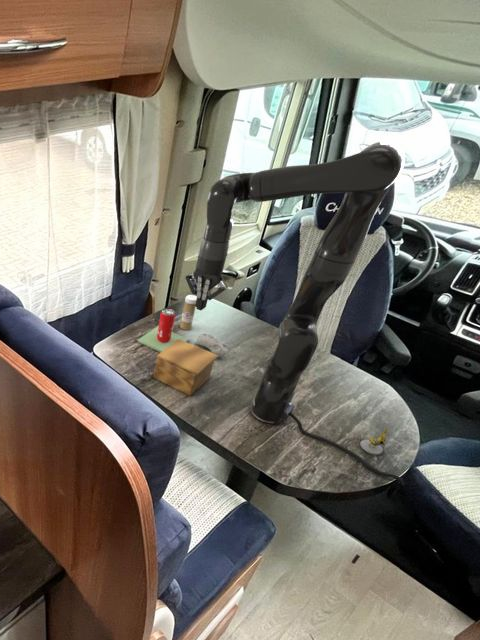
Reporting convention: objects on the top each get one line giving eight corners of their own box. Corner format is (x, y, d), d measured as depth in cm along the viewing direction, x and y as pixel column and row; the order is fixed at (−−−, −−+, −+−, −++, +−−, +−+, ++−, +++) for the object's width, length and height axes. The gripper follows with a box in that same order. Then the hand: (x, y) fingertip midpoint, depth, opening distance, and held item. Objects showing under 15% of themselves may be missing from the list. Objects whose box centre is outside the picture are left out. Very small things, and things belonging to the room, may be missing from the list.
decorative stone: (189, 345, 167) (192, 333, 164) (200, 339, 170) (203, 328, 167) (219, 361, 159) (222, 349, 156) (230, 354, 163) (233, 343, 159)
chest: (209, 377, 152) (215, 357, 146) (189, 395, 144) (195, 374, 139) (173, 361, 159) (177, 341, 154) (153, 377, 151) (156, 357, 146)
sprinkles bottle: (179, 329, 176) (185, 299, 168) (179, 323, 179) (186, 293, 171) (191, 331, 175) (198, 300, 167) (191, 325, 179) (198, 295, 170)
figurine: (378, 457, 124) (391, 437, 119) (356, 446, 127) (369, 426, 122) (385, 448, 127) (399, 428, 122) (364, 437, 130) (377, 417, 125)
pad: (188, 340, 170) (188, 339, 169) (168, 356, 161) (169, 354, 161) (157, 327, 177) (157, 326, 176) (137, 341, 169) (137, 339, 168)
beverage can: (157, 334, 171) (162, 307, 164) (171, 337, 170) (176, 309, 162) (155, 341, 167) (160, 314, 160) (169, 344, 166) (174, 316, 158)
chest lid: (218, 357, 146) (218, 355, 145) (197, 375, 138) (198, 373, 137) (177, 340, 154) (178, 338, 153) (156, 356, 146) (157, 354, 146)
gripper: (184, 251, 125) (174, 306, 135) (228, 264, 118) (213, 321, 129) (198, 244, 129) (187, 297, 140) (241, 256, 122) (225, 312, 133)
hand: (200, 308), depth 134 cm, fingers closed
